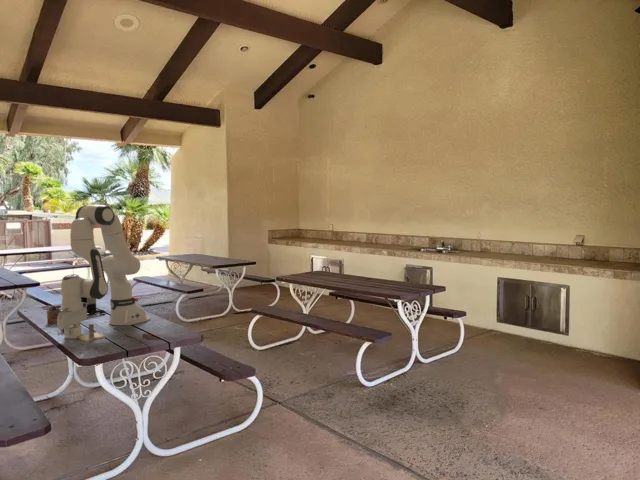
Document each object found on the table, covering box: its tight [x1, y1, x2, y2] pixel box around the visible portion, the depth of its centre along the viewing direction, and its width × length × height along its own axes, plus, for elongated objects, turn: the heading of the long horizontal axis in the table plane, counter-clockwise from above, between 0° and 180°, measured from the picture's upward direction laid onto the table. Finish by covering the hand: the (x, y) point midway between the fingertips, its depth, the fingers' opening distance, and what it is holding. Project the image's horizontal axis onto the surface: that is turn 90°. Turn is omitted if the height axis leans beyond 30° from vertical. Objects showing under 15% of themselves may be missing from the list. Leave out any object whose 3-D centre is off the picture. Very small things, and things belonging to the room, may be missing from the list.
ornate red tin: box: [46, 304, 62, 325], centre depth 273 cm, size 8×3×10 cm, turn 126°
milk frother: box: [81, 297, 106, 314], centre depth 297 cm, size 14×16×15 cm
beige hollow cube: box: [63, 325, 82, 339], centre depth 244 cm, size 6×6×6 cm
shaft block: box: [77, 323, 107, 343], centre depth 241 cm, size 10×10×7 cm
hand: (72, 333), depth 244 cm, fingers closed on beige hollow cube, 6 cm apart
